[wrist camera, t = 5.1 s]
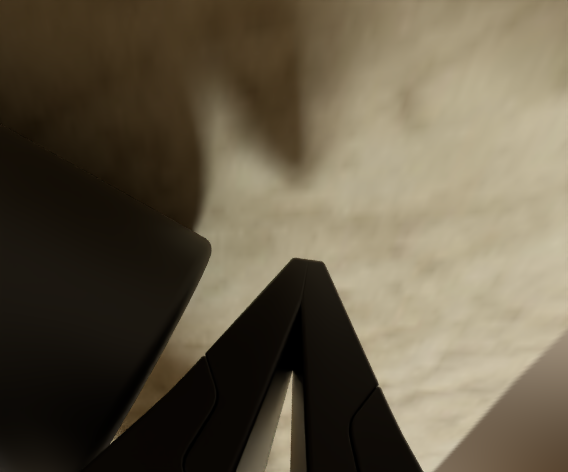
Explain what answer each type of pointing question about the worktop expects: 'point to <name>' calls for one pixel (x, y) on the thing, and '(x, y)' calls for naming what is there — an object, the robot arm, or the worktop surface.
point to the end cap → (79, 305)
